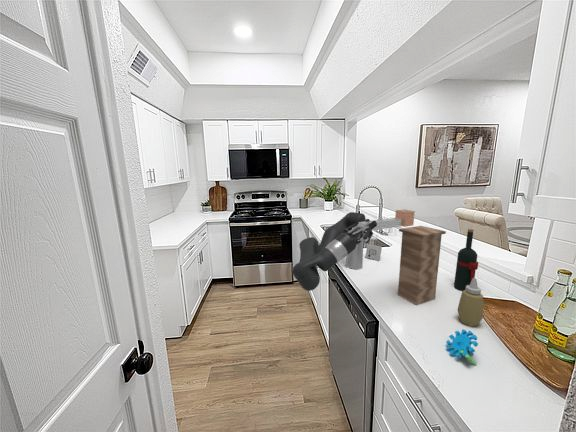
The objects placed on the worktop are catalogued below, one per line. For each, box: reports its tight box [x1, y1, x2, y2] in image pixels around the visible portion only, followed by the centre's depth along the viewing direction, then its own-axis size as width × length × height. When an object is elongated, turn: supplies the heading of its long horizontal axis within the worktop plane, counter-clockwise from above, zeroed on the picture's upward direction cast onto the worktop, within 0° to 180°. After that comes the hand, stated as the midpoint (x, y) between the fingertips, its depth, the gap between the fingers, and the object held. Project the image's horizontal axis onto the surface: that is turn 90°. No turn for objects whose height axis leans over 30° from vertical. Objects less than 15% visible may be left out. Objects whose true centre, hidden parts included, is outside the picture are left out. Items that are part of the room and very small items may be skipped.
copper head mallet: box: [358, 208, 416, 232], centre depth 100 cm, size 26×5×6 cm, turn 114°
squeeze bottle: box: [456, 277, 484, 327], centre depth 95 cm, size 8×8×18 cm
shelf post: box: [397, 225, 447, 306], centre depth 113 cm, size 14×12×32 cm
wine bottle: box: [453, 228, 479, 292], centre depth 119 cm, size 8×10×30 cm
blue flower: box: [445, 329, 479, 366], centre depth 80 cm, size 11×6×10 cm
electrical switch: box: [364, 243, 382, 262], centre depth 165 cm, size 9×5×9 cm, turn 50°
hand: (372, 221), depth 97 cm, fingers closed on copper head mallet, 3 cm apart
